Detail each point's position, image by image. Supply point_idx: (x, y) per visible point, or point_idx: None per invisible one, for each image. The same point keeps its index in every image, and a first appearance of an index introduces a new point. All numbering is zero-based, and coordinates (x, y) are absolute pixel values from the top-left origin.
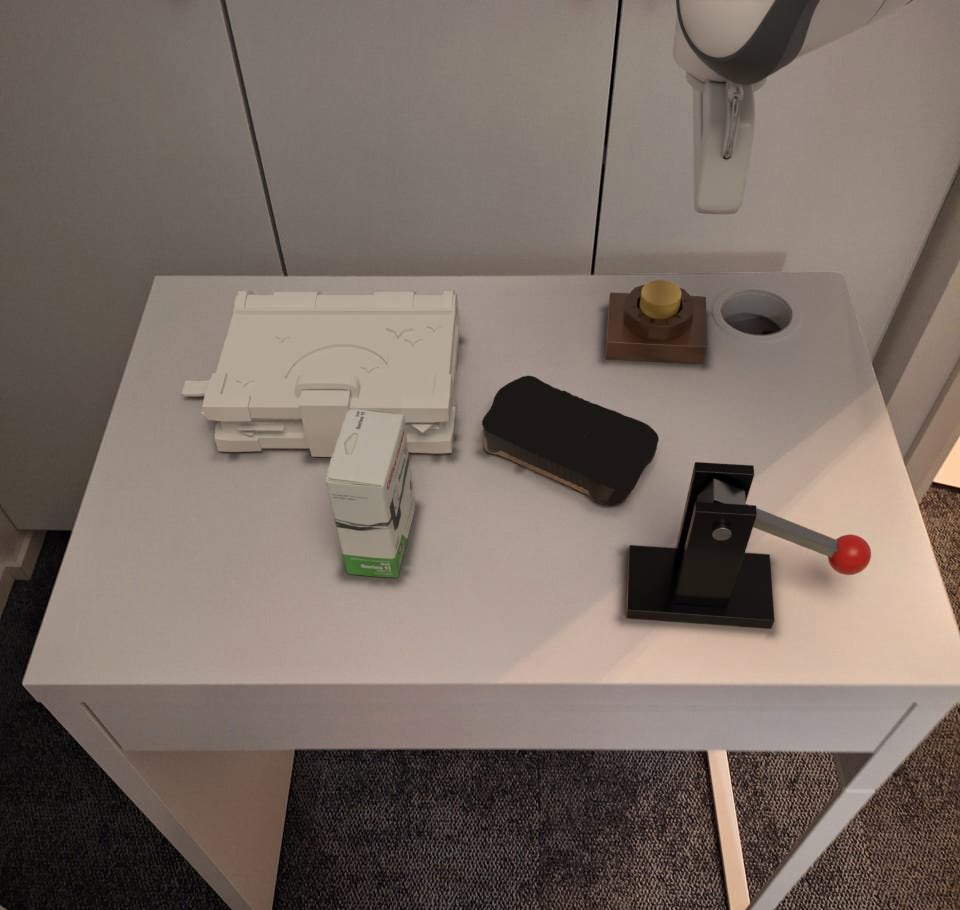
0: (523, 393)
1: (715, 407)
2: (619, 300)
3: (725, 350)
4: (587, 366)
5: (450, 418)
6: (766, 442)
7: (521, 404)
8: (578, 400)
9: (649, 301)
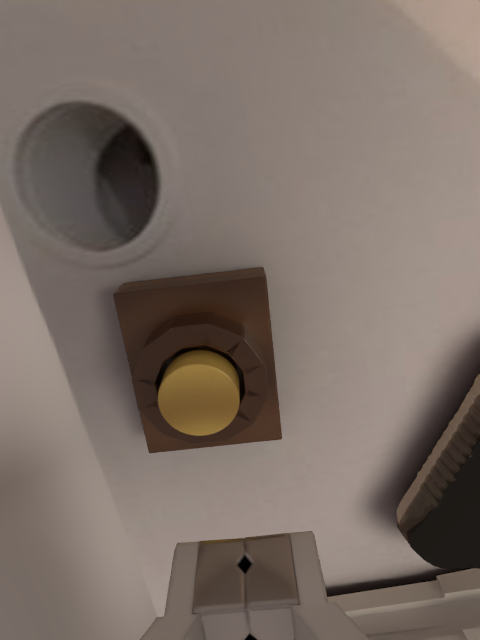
0: (445, 538)
1: (372, 235)
2: (168, 437)
3: (216, 231)
4: (298, 440)
5: (468, 593)
6: (458, 133)
7: (467, 536)
8: (465, 471)
9: (232, 418)
